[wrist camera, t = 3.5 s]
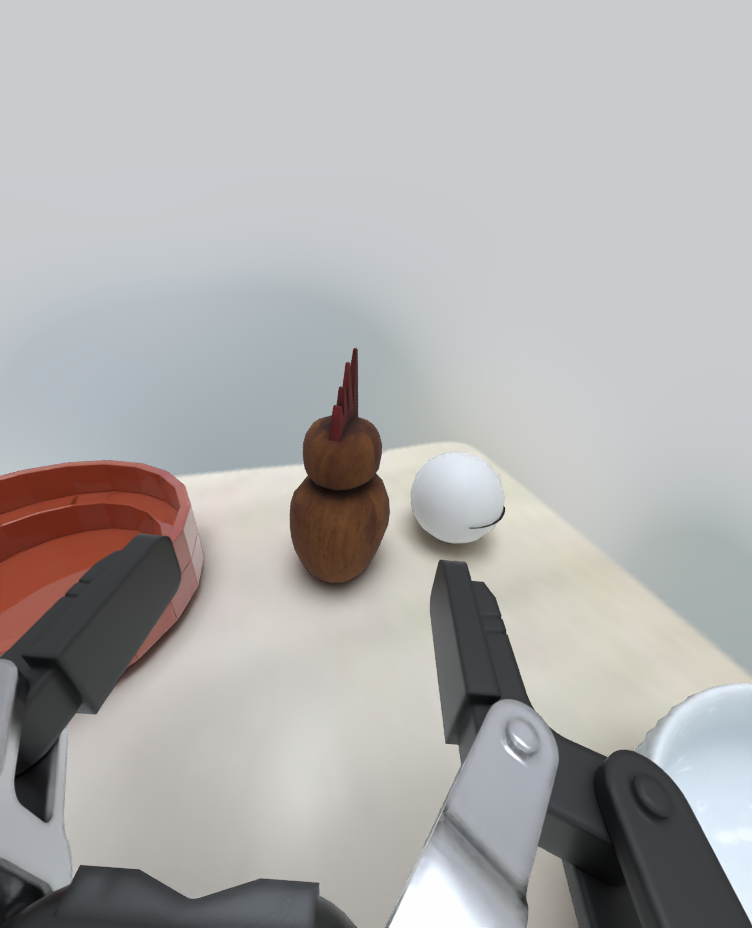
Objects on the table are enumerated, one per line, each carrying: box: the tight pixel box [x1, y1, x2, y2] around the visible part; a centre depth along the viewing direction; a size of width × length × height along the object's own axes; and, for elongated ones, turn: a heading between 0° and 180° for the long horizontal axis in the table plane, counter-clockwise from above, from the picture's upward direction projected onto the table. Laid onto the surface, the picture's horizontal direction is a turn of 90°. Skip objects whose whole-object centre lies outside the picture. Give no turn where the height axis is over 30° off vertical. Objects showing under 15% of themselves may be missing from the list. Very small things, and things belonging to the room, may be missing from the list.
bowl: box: [0, 460, 204, 667], centre depth 19 cm, size 15×15×6 cm
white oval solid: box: [411, 452, 505, 543], centre depth 27 cm, size 10×7×7 cm
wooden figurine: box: [290, 348, 390, 583], centre depth 21 cm, size 7×6×15 cm
